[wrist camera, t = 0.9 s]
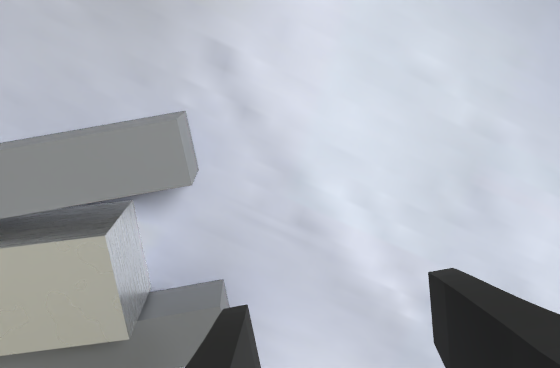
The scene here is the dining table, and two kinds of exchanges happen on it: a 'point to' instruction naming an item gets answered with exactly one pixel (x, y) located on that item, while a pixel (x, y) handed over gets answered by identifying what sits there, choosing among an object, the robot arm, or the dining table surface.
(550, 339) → the robot arm
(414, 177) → the dining table surface
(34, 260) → the rectangular block
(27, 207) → the grey bars
